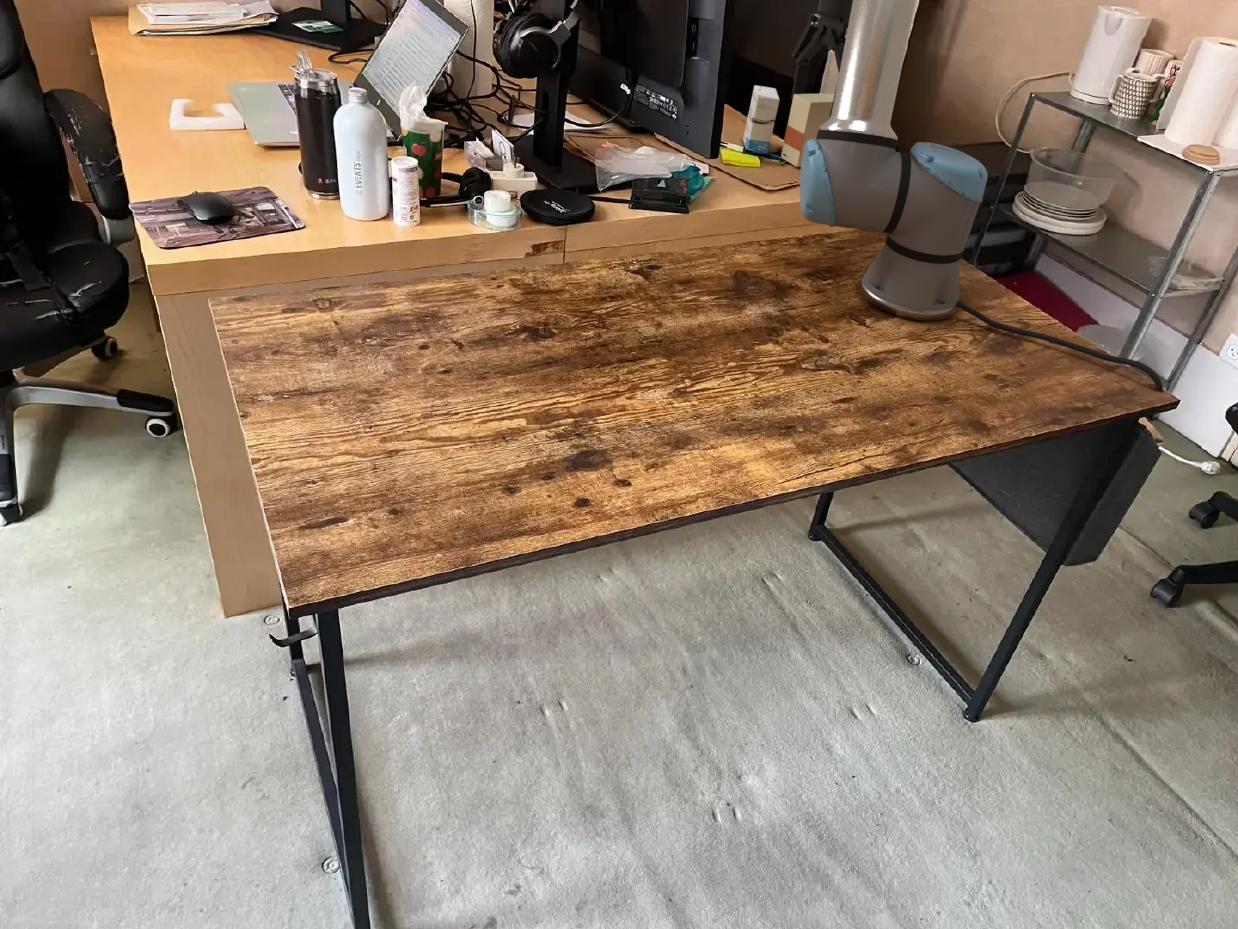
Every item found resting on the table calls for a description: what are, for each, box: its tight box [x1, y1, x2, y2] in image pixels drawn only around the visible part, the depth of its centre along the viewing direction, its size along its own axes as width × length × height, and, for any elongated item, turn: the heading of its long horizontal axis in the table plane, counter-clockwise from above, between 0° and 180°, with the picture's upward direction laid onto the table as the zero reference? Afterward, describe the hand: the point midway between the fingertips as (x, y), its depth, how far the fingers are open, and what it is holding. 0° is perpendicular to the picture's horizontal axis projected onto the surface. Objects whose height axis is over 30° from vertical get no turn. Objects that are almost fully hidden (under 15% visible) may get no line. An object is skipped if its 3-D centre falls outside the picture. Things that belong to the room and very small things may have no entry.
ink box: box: [742, 84, 780, 155], centre depth 193 cm, size 8×5×12 cm, turn 179°
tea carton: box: [780, 92, 835, 168], centre depth 189 cm, size 13×6×10 cm
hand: (815, 108), depth 186 cm, fingers open, 13 cm apart
